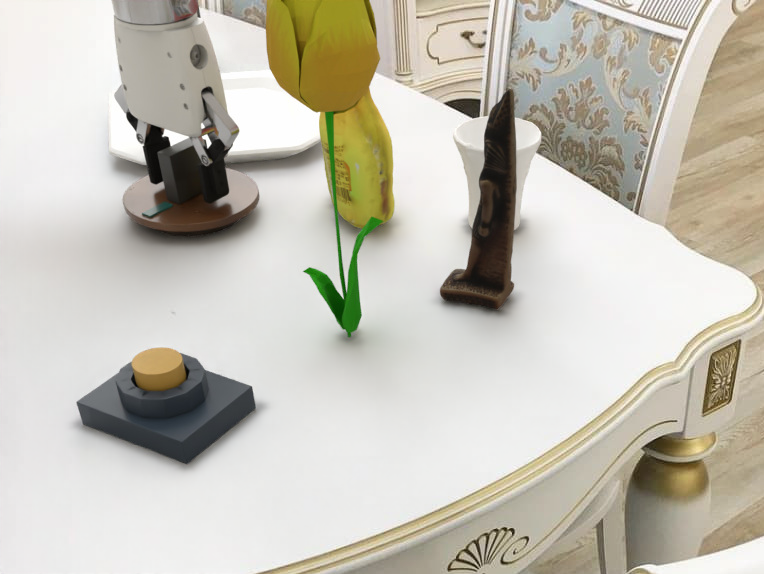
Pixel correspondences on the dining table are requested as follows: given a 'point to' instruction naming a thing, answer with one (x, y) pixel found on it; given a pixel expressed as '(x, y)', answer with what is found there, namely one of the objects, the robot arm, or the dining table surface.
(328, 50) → the flower
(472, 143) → the cup
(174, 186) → the turntable
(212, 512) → the dining table surface
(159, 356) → the bell button
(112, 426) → the grey button base
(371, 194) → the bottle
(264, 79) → the plate
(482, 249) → the statue
